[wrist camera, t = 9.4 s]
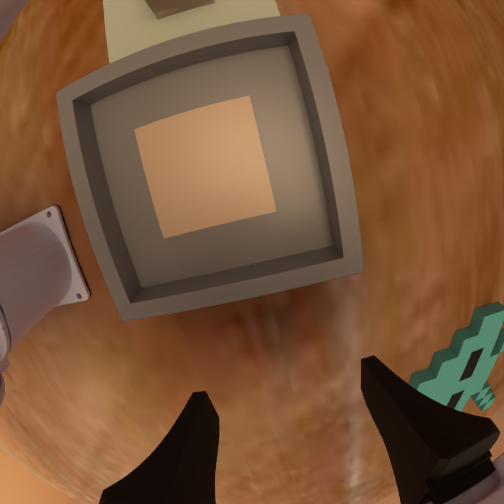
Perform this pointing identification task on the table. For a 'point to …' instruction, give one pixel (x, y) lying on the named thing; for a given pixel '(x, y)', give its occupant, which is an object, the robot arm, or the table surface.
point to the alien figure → (465, 362)
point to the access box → (213, 168)
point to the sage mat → (171, 22)
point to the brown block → (174, 6)
